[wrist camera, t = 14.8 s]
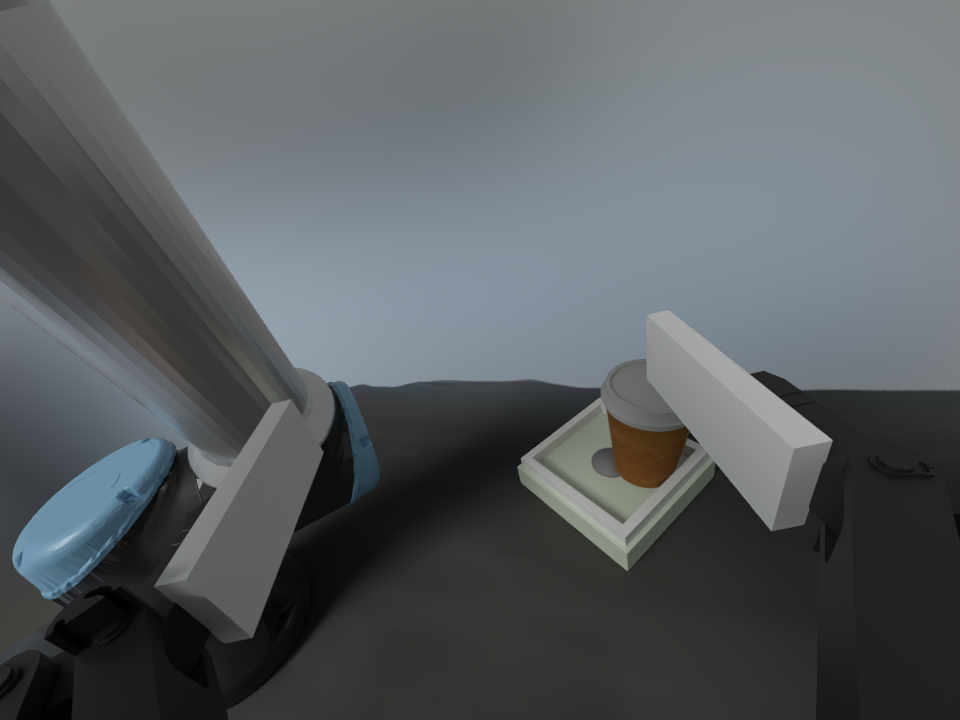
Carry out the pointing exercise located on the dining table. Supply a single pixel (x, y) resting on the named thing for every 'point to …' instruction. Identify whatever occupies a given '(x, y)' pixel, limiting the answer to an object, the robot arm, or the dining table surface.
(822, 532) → the robot arm
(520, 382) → the dining table surface
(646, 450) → the disposable coffee cup
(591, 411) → the square rimmed tray
